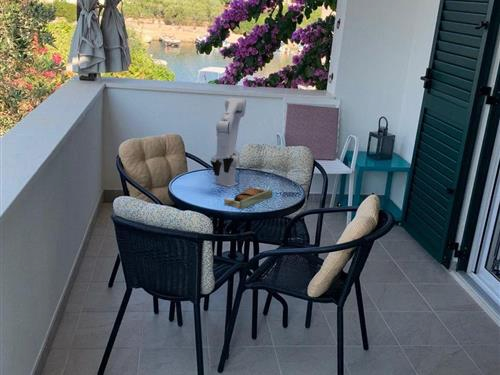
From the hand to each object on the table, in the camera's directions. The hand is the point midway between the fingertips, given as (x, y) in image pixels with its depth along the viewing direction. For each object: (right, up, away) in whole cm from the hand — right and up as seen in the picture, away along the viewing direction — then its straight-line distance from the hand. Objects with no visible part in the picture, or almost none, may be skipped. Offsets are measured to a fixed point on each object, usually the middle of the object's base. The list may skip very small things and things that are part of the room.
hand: (221, 173), depth 273 cm
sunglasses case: (+13, -12, -3) cm, 19 cm away
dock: (+13, -12, -6) cm, 19 cm away
